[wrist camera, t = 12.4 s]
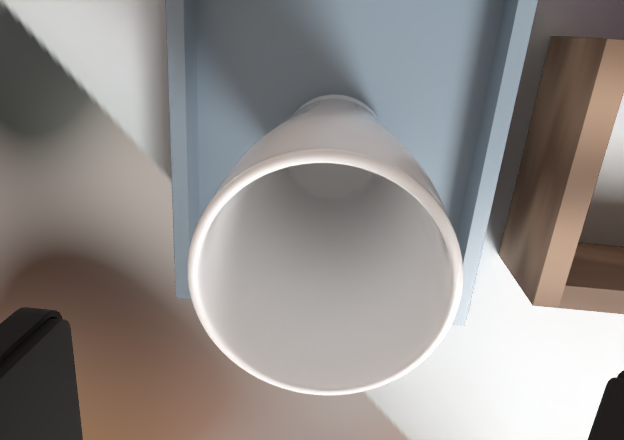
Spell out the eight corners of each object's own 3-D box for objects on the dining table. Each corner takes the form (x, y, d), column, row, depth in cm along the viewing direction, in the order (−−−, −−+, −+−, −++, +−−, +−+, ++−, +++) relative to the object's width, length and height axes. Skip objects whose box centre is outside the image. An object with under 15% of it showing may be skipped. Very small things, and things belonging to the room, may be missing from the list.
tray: (453, 297, 30) (465, 325, 27) (191, 272, 30) (175, 297, 27) (523, -38, 23) (548, -46, 20) (184, -63, 23) (162, -75, 20)
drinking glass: (419, 175, 26) (507, 350, 12) (304, 224, 27) (262, 431, 13) (368, 53, 24) (404, 93, 10) (247, 112, 25) (127, 220, 11)
